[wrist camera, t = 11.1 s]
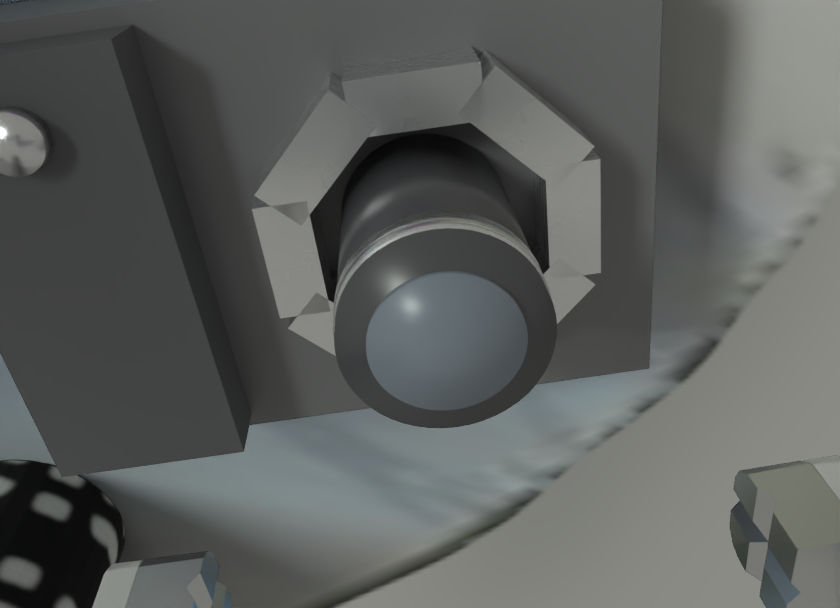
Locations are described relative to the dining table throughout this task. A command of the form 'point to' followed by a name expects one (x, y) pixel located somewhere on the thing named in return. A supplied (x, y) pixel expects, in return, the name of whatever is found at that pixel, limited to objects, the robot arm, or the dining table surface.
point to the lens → (437, 287)
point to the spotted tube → (53, 537)
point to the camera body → (290, 194)
